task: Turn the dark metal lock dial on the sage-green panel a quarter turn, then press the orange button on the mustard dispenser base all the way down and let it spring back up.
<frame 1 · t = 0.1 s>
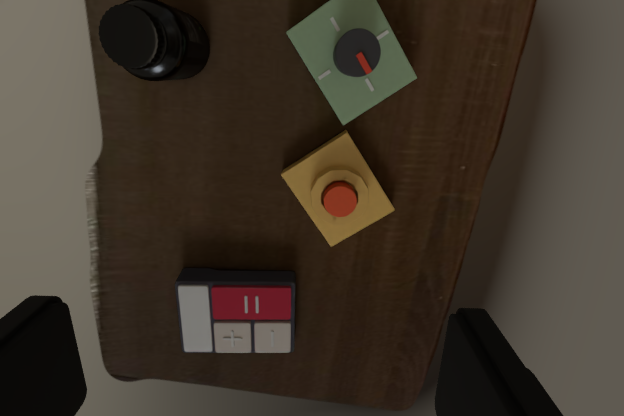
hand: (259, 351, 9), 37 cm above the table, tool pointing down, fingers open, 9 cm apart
supplement bottle: (180, 46, 42), on the table
button: (339, 199, 43), point 4 cm above the table, slide at 0.1 cm
calculator: (241, 303, 53), on the table
dispenser base: (337, 187, 47), on the table
dial panel: (350, 56, 42), on the table
lock dial: (355, 54, 36), point 6 cm above the table, hinge at 0.0°
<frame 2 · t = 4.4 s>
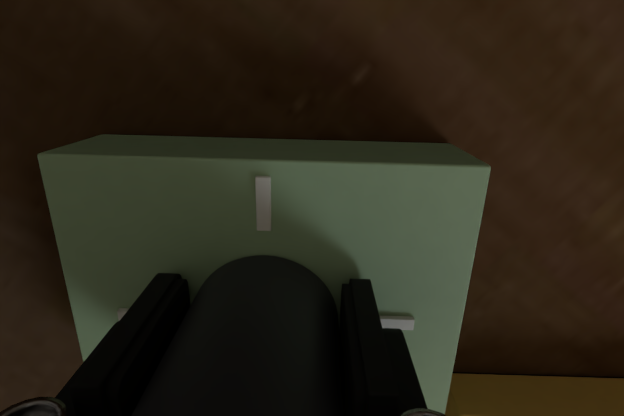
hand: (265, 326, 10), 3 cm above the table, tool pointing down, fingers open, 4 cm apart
dial panel: (277, 265, 14), on the table
lock dial: (248, 403, 8), point 6 cm above the table, hinge at 0.0°, touching gripper
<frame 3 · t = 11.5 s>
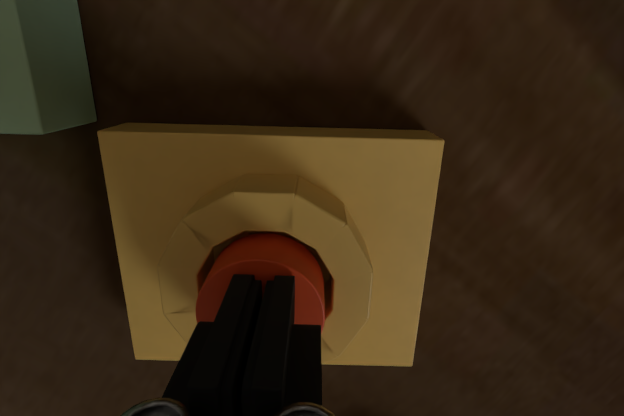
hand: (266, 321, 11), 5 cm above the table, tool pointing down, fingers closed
button: (264, 299, 11), point 4 cm above the table, slide at -0.1 cm, touching gripper
dispenser base: (277, 238, 15), on the table
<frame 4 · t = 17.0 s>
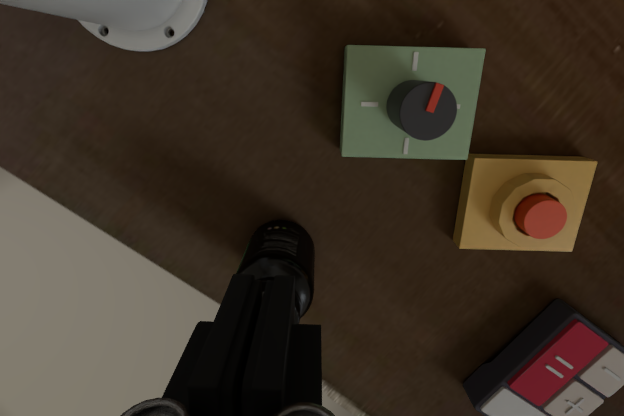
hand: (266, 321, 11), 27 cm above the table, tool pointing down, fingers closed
supplement bottle: (282, 247, 40), on the table
button: (540, 216, 33), point 4 cm above the table, slide at 0.1 cm
calculator: (539, 363, 45), on the table
dispenser base: (515, 200, 38), on the table
dial panel: (402, 102, 35), on the table
lock dial: (419, 108, 29), point 6 cm above the table, hinge at 75.3°
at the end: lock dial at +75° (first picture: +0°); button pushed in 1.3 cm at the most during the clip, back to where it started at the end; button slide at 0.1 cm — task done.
